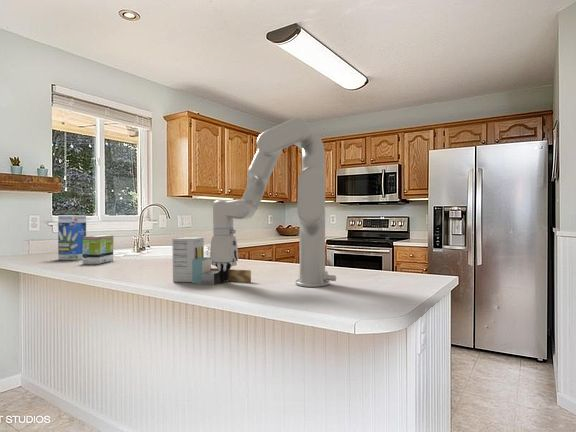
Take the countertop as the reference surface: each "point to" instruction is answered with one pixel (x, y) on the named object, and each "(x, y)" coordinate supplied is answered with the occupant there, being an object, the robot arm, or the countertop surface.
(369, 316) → the countertop surface
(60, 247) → the string lights box
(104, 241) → the tea box
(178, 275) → the supplement box
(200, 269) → the book
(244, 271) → the rail
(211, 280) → the grey rounded block
